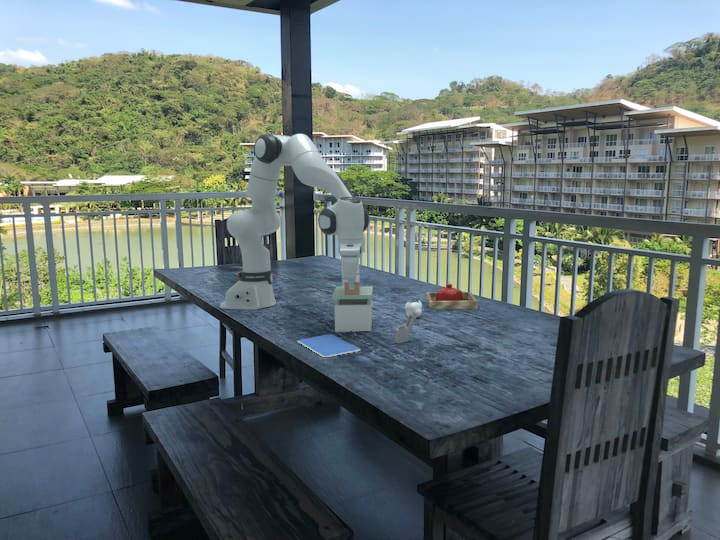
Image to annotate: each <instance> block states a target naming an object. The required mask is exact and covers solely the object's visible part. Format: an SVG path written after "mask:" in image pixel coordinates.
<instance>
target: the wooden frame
mask: <svg viewBox="0 0 720 540" xmlns="http://www.w3.org/2000/svg"><path fill="white" fill-rule="evenodd" d="M437 292H438V291H437ZM437 292H436V291H435V292H434V291H429V292H428V291H427V292H425V301H426V304H427V303H428V304H427V306H429V307H428V310H478V308H479V306H478V305H479V301H478V300H477V298H476V297H475V295H474V294H473V292H472V291H462V294H463V299H468V300H467V301H435V300H436V294H437Z"/></svg>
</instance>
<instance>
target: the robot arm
mask: <svg viewBox="0 0 720 540" xmlns="http://www.w3.org/2000/svg"><path fill="white" fill-rule="evenodd" d="M253 149H254V150H253V151H254V158H253V160H252V165H251V166H250V172H249V177H248V181H247V187H246V194H247V196H248V197H249V198H250V199H251V208H250V209H242V210H239V211H238V210H237V211H235V212H232V213H231V214H230V215H228V218H227V220H226V228H227V231H228V233H229V234H230V235H231V236H232V237H233V238H234V239H235V240H236V241H237V244H238V246H239V249H240V253H241V263H242V270H240V271H239V272H238V273H237V278H238V281H237V282H235V283H234V284H233V285H232V286H231V287H230V288H229V289H228V290H227V291H226V293H225V296H224V297H225V298H224V299H225V300H223V301H222V302H220V304H219V308H220V309H222V310H223V309H224V310H225V309H226V310H228V309H229V310H244V311H245V310H246V311H247V310H249V311H251V310H252V311H255V310H259V309H263V308H271V307H272V306H275V305H277V301H276V299H275V294H274V289H273V270H272V269H271V252H270V250H269V249H268V248H267V247H266V246H265V245H264V243H263V241H262V238H261V237H262V236H268V235H271V234H273V233H275V232H277V231H278V230H279V229H280V226H281V224H282V223H281V217H280V214H279V212H278V211H277V210H276V209H277V208H276V200H275V199H276V193H277V187H278V182H279V178H280V171H281V169H282V167H288V168H292V171H293V173H294V174H295V176H296V177H297V180H299V181H300V182H301V184H304V185H306V186H309V187H313V188H317V189H320V190H324V191H326V192H328V193H330V194H331V195H333V197H334V198H335V200H336V203H334V204H332V205H330V206H328V207H324V208H323V209H321V211H320V212H319V215H318V217H317V218H318V219H317V221H318V222H317V223H318V227H319V229H320V232H322V233H323V234H324V235H327V236H337V253H338V254H339V256H340V257H341V256H342V266H343V274H344V279H345V280H348V283H349V289H350V290H354V288H355V285H354V282H355V279H356V276H357V272H358V267H359V268H360V263H359V264H358V258H359V259H360V258H362V254H363V253H365V252H366V248H365V246H366V245H365V244H366V243H365V241H366V237H365V231H366V230H367V229H368V227H369V224H370V220H371V219H370V214H369V212H368V210H367V209H366V207H365V206H364V205H363V201H362V200H361V199H360V198H358V197H356V196H355V195H354V193H353V191H352V190H351V189H350V187H349V186H348V185H347V183H346V182H345V181H344V179H343V178H342V177H341V175H340V174H339V173H338V172H337V171H336V170H334V169H333V168H331V167H330V166H329V164H328V163H327V162H326V161H325V159H323V157H322V155H321V153H320V151H319V149H318V147H317V146H316V145H315V143H314V142H313V140H312V139H311V138H310V137H309V136H308V135H306V134H305V133H296V134H292V135H291V136H290V135H280V134H278V135H277V134H271V133H267V134H261V135H259V136H258V137H257V138H256V140H255V143H254V147H253ZM342 266H341V267H342Z"/></svg>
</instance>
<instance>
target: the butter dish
mask: <svg viewBox="0 0 720 540" xmlns="http://www.w3.org/2000/svg"><path fill="white" fill-rule="evenodd" d="M445 286H446V287H443V288H441V289H439V290H438V291H437V294H436V300H434V301H468V300H464V299H463V294H462V292H463V291H462V290H461V289H460V288H457V287H456V288H455V287H453V283H447V284H445Z"/></svg>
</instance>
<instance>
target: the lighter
mask: <svg viewBox="0 0 720 540" xmlns="http://www.w3.org/2000/svg"><path fill="white" fill-rule="evenodd" d="M416 319H417V317H415V316H413V315H409V317H408V318H407V321H406V324H405V325H404V324H401V325H398V327H397V328H395V329H394V341H395V342H394V343H395V344H397V343H398V345H399V344H404V343H408V342H409V329H411V330H412V329H413V327H414V325H415V321H416Z"/></svg>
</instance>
